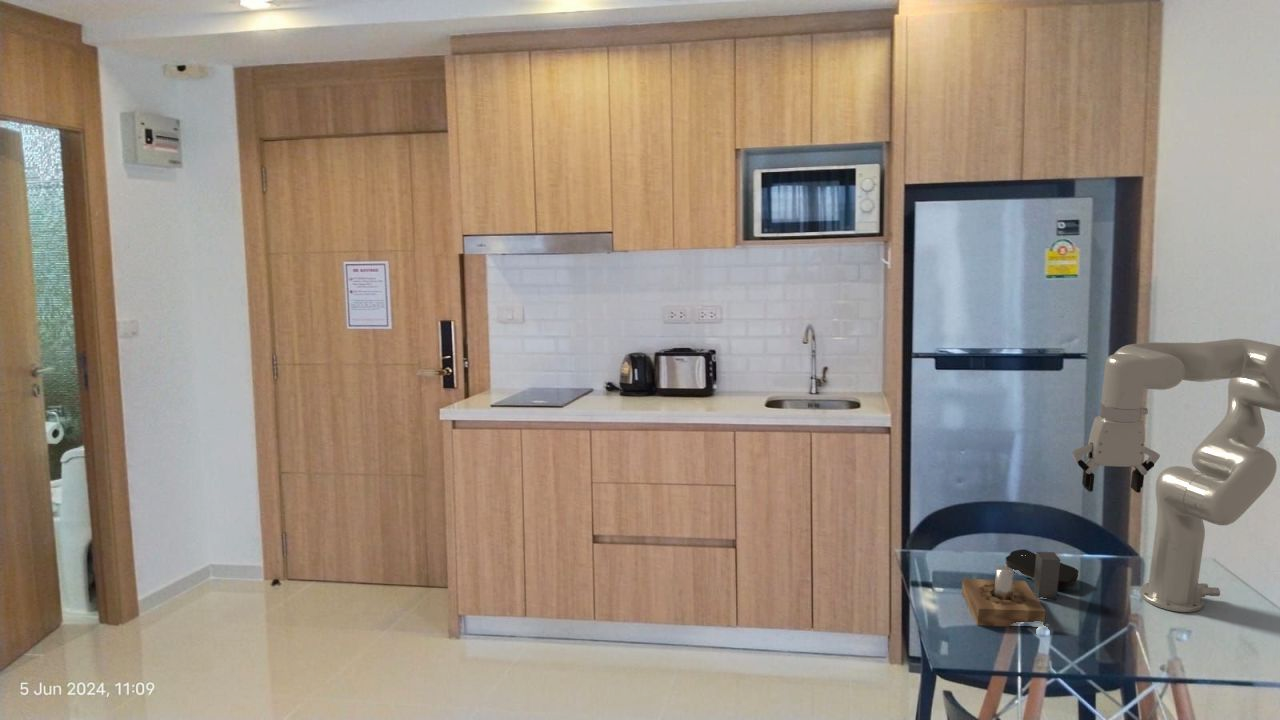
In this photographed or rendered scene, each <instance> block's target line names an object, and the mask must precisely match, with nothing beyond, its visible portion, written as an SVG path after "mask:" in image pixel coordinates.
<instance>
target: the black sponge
mask: <svg viewBox="0 0 1280 720" xmlns="http://www.w3.org/2000/svg"><path fill="white" fill-rule="evenodd" d="M1021 555H1023V556H1021ZM1025 555H1026V556H1025ZM1035 562H1036V553H1035V552H1032V551H1030V550H1028V549H1025V548H1023V549H1017V550H1013V551H1011V552H1010V554H1008V556H1006V557H1005V565H1004V567H1005V566H1006V567H1009V568H1011V569H1014V570H1019V571H1020V572H1021V573H1022V574H1024V575H1026V576H1030V577H1031V578H1033V579H1034V572H1035ZM1079 572H1080V571H1079V570H1078V569H1077V568H1076V567H1073V566H1071V565H1068V564H1066V563H1065V564H1064V563H1063V562H1060V569H1059V579H1058V588H1057V592H1058V591H1059V592H1060V591H1061V592H1062V591H1063V590H1065V589H1067V588H1068V587H1069V586H1070V585H1073V584H1074V583H1077V580H1078V578H1079Z"/></svg>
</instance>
